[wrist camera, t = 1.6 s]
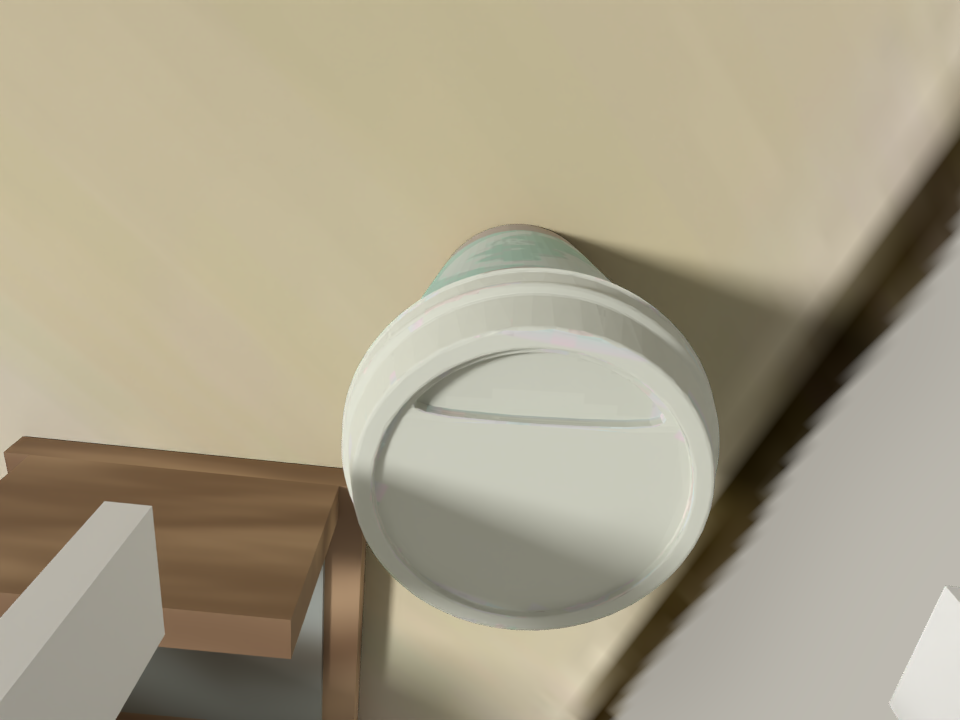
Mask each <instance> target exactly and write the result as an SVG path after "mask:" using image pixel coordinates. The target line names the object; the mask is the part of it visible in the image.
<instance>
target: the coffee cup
mask: <svg viewBox="0 0 960 720" xmlns="http://www.w3.org/2000/svg"><path fill="white" fill-rule="evenodd" d="M719 445H720V436H719V424H718V417H717V413H716V408H715V404H714V399H713V394H712V390H711V387H710V384H709V381H708V378H707V375H706V373H705V370H704V368H703V366H702V364H701V362H700V360H699V358H698V356H697V354H696V353H695V351H694V350H693V348H692V347H691V345H690V344H689V342H688V341H687V339H686V338H685V337H684V336H683V334H682V333H681V332H680V331H679V330H678V329H677V327H676V326H675V325H674V324H673V323H672V322H671V321H670V320H669V319H668V318H667V317H665V316H664V315H663V314H662V313H661V312H660V311H658V310H657V309H656V308H655V307H653V306H652V305H651V304H649V303H648V302H646V301H645V300H643V299H642V298H640V297H639V296H637V295H635V294H634V293H632V292H630V291H628V290H626V289H624V288H622V287H620V286H618V285H615V284H613V283H612V282H611V281H609V280H608V279H607V278H606V277H605V276H604V275H603V274H602V273H601V272H600V271H599V270H598V269H597V268H596V267H595V266H594V265H593V264H592V263H591V262H590V261H589V260H588V259H587V258H586V257H585V256H584V255H583V254H582V253H580V252H579V251H578V250H577V249H576V248H575V247H574V246H573V245H572V244H571V243H569V242H568V241H567V240H565V239H564V238H563V237H561V236H559V235H558V234H556V233H554V232H552V231H550V230H547V229H544V228H541V227H537V226H533V225H526V224H508V225H502V226H497V227H494V228H490V229H488V230H485V231H483V232H481V233H479V234H477V235H475V236H473V237H472V238H470V239H469V240H467V241H466V242H465V243H464V244H462V245H461V246H460V247H459V248H458V249H457V250H456V251H455V252H454V254H453V255H452V256H451V258H450V259H449V260H448V262H447V263H446V264H445V266H444V267H443V268H442V270H441V271H440V272H439V274H438V275H437V277H436V278H435V279H434V281H433V282H432V284H431V285H430V286H429V288H428V289H427V291H426V292H425V293H424V295H423V296H422V298H421V299H420V300H419V301H417V302H416V303H414V304H413V305H411V306H410V307H409V308H407V309H406V310H405V311H404V312H402V313H401V314H400V315H399V316H398V317H396V318H395V319H394V320H393V321H392V322H391V323H390V324H389V325H388V326H387V327H386V328H385V329H384V330H383V331H382V332H381V334H380V335H379V336H378V337H377V338H376V340H375V341H374V342H373V344H372V345H371V346H370V348H369V349H368V351H367V352H366V354H365V355H364V357H363V359H362V360H361V362H360V364H359V366H358V368H357V370H356V372H355V374H354V377H353V379H352V382H351V385H350V387H349V391H348V394H347V398H346V402H345V407H344V414H343V424H342V463H343V470H344V476H345V480H346V484H347V487H348V490H349V494H350V496H351V499H352V501H353V504H354V508H355V512H356V516H357V519H358V523H359V525H360V528H361V530H362V532H363V535H364V537H365V539H366V541H367V543H368V545H369V546H370V548H371V550H372V551H373V553H374V555H375V556H376V557H377V559H378V560H379V561H380V563H381V564H382V565H383V567H384V568H385V569H386V570H387V571H388V572H389V573H390V574H391V575H392V576H393V577H394V578H395V579H396V580H397V581H398V582H399V583H400V584H401V585H403V586H404V587H405V588H406V589H407V590H409V591H410V592H411V593H412V594H414V595H415V596H416V597H418V598H420V599H421V600H423V601H424V602H426V603H428V604H430V605H431V606H433V607H435V608H437V609H439V610H441V611H443V612H445V613H447V614H450V615H452V616H454V617H457V618H460V619H463V620H466V621H469V622H473V623H476V624H481V625H485V626H489V627H496V628H502V629H510V630H548V629H559V628H565V627H571V626H576V625H580V624H584V623H588V622H591V621H594V620H597V619H600V618H603V617H606V616H609V615H611V614H613V613H616V612H618V611H620V610H622V609H624V608H626V607H628V606H630V605H632V604H634V603H635V602H637V601H638V600H640V599H642V598H643V597H645V596H646V595H648V594H649V593H651V592H652V591H653V590H655V589H656V588H657V587H658V586H660V585H661V584H662V583H663V582H664V581H666V580H667V579H668V578H669V577H670V576H671V575H672V574H673V573H674V572H675V571H676V569H677V568H678V567H679V566H680V565H681V564H682V563H683V561H684V560H685V559H686V557H687V556H688V554H689V553H690V552H691V550H692V549H693V547H694V546H695V544H696V542H697V540H698V538H699V537H700V535H701V533H702V531H703V529H704V526H705V523H706V520H707V518H708V515H709V512H710V509H711V505H712V499H713V494H714V483H715V476H716V471H717V466H718V459H719Z"/></svg>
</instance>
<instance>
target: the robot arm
mask: <svg viewBox="0 0 960 720" xmlns="http://www.w3.org/2000/svg"><path fill="white" fill-rule="evenodd" d="M164 635H165V630H164V620H163V610H162V600H161V590H160V580H159V570H158V560H157V550H156V540H155V530H154V520H153V510H152V506H148V505H138V504H128V503H118V502H108V501H104V502H103V503H102V505H101V506H100V507H99V508H98V509H97V510H96V511H95V512H94V513H93V515H92V516H91V517H90V518H89V519H88V520H87V521H86V522H85V524H84V525H83V526H82V527H81V528H80V529H79V530H78V531H77V533H76V534H75V535H74V536H73V537H72V538H71V539H70V540H69V541H68V543H67V544H66V545H65V546H64V547H63V548H62V549H61V550H60V552H59V553H58V554H57V555H56V556H55V557H54V558H53V559H52V561H51V562H50V563H49V564H48V565H47V566H46V567H45V568H44V569H43V571H42V572H41V573H40V574H39V575H38V576H37V577H36V578H35V580H34V581H33V582H32V583H31V584H30V585H29V586H28V587H27V589H26V590H25V591H24V592H23V593H22V594H21V595H20V596H19V597H18V599H17V600H16V601H15V602H14V603H13V604H12V605H11V606H10V608H9V609H8V610H7V611H6V612H5V613H4V614H3V615H2V617H1V618H0V720H116V718H117V716H118V714H119V713H120V711H121V709H122V707H123V706H124V704H125V702H126V701H127V699H128V697H129V695H130V694H131V692H132V690H133V689H134V687H135V685H136V683H137V682H138V680H139V678H140V676H141V675H142V673H143V671H144V670H145V668H146V666H147V664H148V663H149V661H150V659H151V657H152V656H153V654H154V652H155V651H156V649H157V647H158V645H159V644H160V642H161V640H162V638H163V637H164ZM889 705H890V707H891V709H892V710H893V712H894V713H895V715H896V717H897V718H898V720H960V587H953V586H945V587H944V589H943V591H942V593H941V596H940V597H939V600H938V602H937V604H936V606H935V608H934V610H933V612H932V614H931V616H930V618H929V621H928V623H927V625H926V627H925V629H924V631H923V633H922V635H921V637H920V639H919V641H918V643H917V646H916V648H915V650H914V652H913V654H912V656H911V658H910V660H909V663H908V664H907V667H906V669H905V671H904V673H903V675H902V677H901V679H900V681H899V683H898V685H897V687H896V690H895V692H894V694H893V696H892V698H891V700H890V702H889Z"/></svg>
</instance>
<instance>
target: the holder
mask: <svg viewBox="0 0 960 720" xmlns="http://www.w3.org/2000/svg"><path fill="white" fill-rule="evenodd" d="M4 456H5V461H6V466H7V471H8V474H7V475H6V476H5V477H4V478H2V479H1V480H0V618H1V617H2V615H3V614H4V613H5V612H6V611H7V610H8V609H9V608H10V606H11V605H12V604H13V603H14V602H15V601H16V600H17V599H18V597H19V596H20V595H21V594H22V593H23V592H24V591H25V590H26V589H27V587H28V586H29V585H30V584H31V583H32V582H33V581H34V580H35V578H36V577H37V576H38V575H39V574H40V573H41V572H42V571H43V569H44V568H45V567H46V566H47V565H48V564H49V563H50V562H51V561H52V559H53V558H54V557H55V556H56V555H57V554H58V553H59V552H60V550H61V549H62V548H63V547H64V546H65V545H66V544H67V543H68V541H69V540H70V539H71V538H72V537H73V536H74V535H75V534H76V533H77V531H78V530H79V529H80V528H81V527H82V526H83V525H84V524H85V522H86V521H87V520H88V519H89V518H90V517H91V516H92V515H93V513H94V512H95V511H96V510H97V509H98V508H99V507H100V506H101V505H102V503H103V502H104V501H108V502H118V503H128V504H138V505H148V506H152V510H153V520H154V530H155V540H156V550H157V560H158V570H159V580H160V590H161V600H162V610H163V620H164V630H165V635H164V637H163V638H162V640H161V642H160V644H159V645H158V647H157V649H156V651H155V652H154V654H153V656H152V657H151V659H150V661H149V663H148V664H147V666H146V668H145V670H144V671H143V673H142V675H141V676H140V678H139V680H138V682H137V683H136V685H135V687H134V689H133V690H132V692H131V694H130V695H129V697H128V699H127V701H126V702H125V704H124V706H123V707H122V709H121V711H120V713H119V714H118V716H117V718H116V720H358V701H359V680H360V659H361V638H362V617H363V597H364V576H365V555H366V539H365V537H364V535H363V532H362V530H361V528H360V525H359V523H358V519H357V516H356V512H355V508H354V504H353V501H352V499H351V496H350V494H349V490H348V487H347V484H346V480H345V476H344V470H343V469H342V468H332V467H322V466H312V465H302V464H292V463H282V462H272V461H262V460H252V459H242V458H232V457H222V456H212V455H203V454H193V453H183V452H173V451H163V450H153V449H143V448H133V447H123V446H113V445H103V444H93V443H83V442H73V441H63V440H53V439H44V438H34V437H24V436H23V437H22V438H20V439H19V440H18V441H17V442H16V443H14V444H13V445H12V446H11V447H9V448H8V449H7V450H6V451H4Z"/></svg>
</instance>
